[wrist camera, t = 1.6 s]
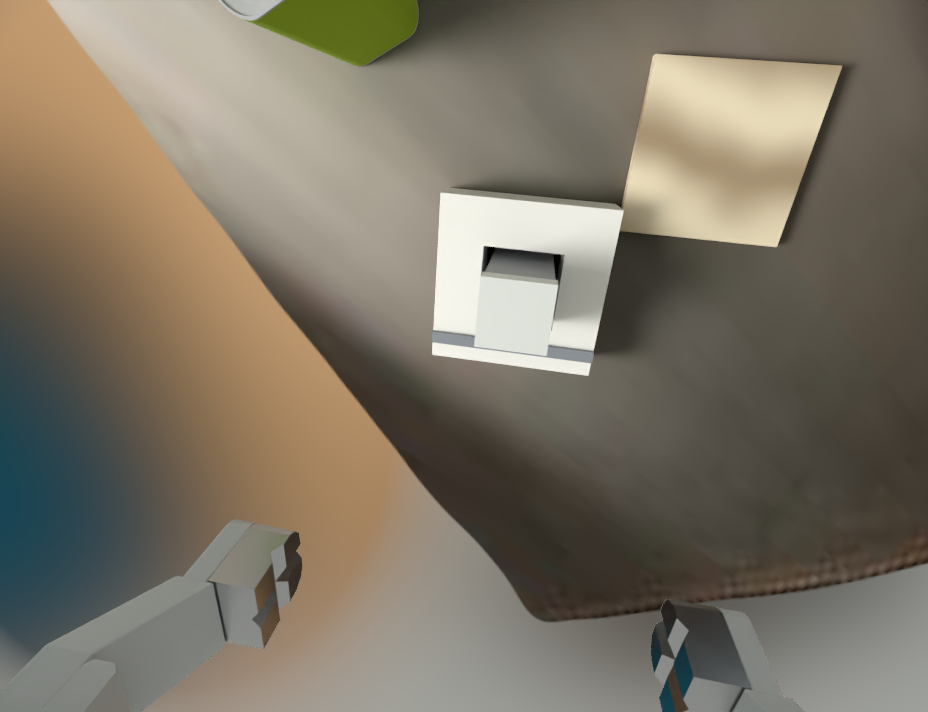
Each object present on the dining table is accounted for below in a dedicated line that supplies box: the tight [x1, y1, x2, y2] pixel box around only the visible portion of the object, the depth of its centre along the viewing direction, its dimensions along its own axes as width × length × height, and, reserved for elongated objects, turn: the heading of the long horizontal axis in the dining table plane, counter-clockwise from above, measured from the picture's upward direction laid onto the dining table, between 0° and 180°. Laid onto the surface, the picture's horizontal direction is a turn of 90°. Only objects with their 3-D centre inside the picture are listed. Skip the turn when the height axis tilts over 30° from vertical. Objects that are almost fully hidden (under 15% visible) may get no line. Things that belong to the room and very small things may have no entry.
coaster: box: [620, 54, 842, 247], centre depth 29 cm, size 10×10×1 cm
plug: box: [474, 247, 558, 356], centre depth 30 cm, size 4×4×9 cm
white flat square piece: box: [432, 188, 624, 376], centre depth 32 cm, size 11×11×4 cm
